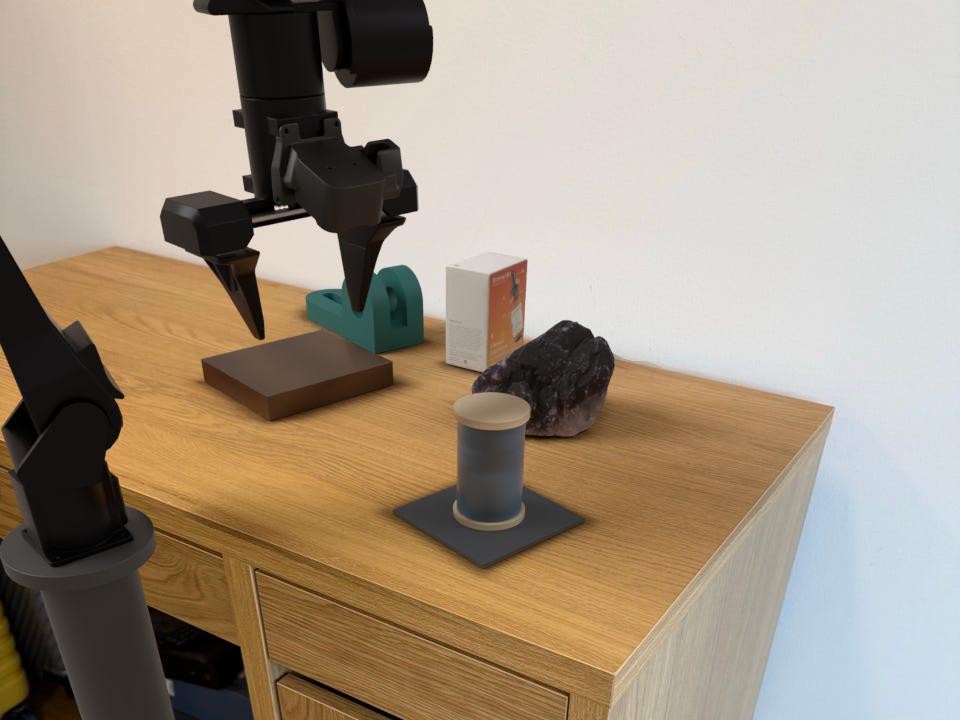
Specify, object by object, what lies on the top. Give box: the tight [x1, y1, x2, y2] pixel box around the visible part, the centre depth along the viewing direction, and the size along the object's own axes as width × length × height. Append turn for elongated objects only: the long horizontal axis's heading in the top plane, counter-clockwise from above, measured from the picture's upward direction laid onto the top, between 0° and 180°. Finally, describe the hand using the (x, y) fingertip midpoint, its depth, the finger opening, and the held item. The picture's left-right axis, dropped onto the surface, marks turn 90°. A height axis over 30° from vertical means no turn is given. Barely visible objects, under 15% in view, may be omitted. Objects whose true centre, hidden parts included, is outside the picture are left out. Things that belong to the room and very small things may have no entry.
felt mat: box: [392, 483, 586, 570], centre depth 74 cm, size 11×11×1 cm
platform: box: [200, 329, 394, 422], centre depth 95 cm, size 15×13×2 cm
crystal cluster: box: [471, 319, 616, 437], centre depth 88 cm, size 13×14×10 cm
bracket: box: [304, 264, 425, 354], centre depth 108 cm, size 18×7×8 cm, turn 38°
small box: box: [445, 250, 529, 373], centre depth 99 cm, size 8×6×10 cm
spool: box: [452, 392, 531, 531], centre depth 71 cm, size 6×6×9 cm
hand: (310, 324), depth 71 cm, fingers open, 9 cm apart
